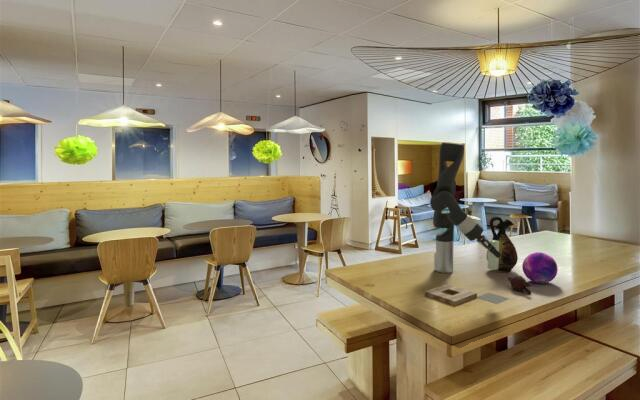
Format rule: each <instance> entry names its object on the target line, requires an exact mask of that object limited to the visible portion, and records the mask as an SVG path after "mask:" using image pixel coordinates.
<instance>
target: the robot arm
mask: <svg viewBox="0 0 640 400" xmlns="http://www.w3.org/2000/svg"><path fill="white" fill-rule="evenodd" d="M438 155H439V157H438V159H439V161H438V163H439V164H438V174H437V175H438V176H437V183H436V188H435V189H434V192H433V193H432V196H431V198H430V202H429V204H430V207H431V209H432V210H433V218H432V219H433V221H432V225H433V227H434V228H435V229H445V230H444V231H443V232H440V233H438V234H436V236H435V253H434V254H433V255H434V262H433V263H434V264H433V265H434V267H433V268H434V269H433V270H435V272H439V273H444V274H448V273H451V274H452V273H454V237H455V236H454V235H455V234H454V233H455V232H454V231H455V227H456V228H457V230H459V231H460V233H462V234H463V235H464V236H465V237H466V239H468V240H469V241H471V242H473V241H475V240H476V242H477V243H478V244H479V245H481V247H483V248H484V249H485V250H489V251H490V252H492V253H493V254H494V255H495V256H496V257H497V258H499V257H500V256H501V254H500V253H499V252H498V251H497V250H496V248H495V247H494V246H493V245H492V243H491V242H490V241H489V239H488V238H487V236H485V235H484V234H483V232H484V228H483V227H482V226H481V225H480V224H479V223H478V222H477V221H476V220H475V219H474V218H472V216H470V215H468V214H467V213H466V212H465V211H464V210H463V208H462V207H461V206H460V204H459V202H457V199H456V198H455V194H456V190H457V189H456V188H457V182H456V178H457V174H458V172H459V169H460V166H461V164H462V162H463V158H464V155H465V145H464V144H463V143H461V142H451V141H443V142H441V144H440V147H439V154H438ZM447 162H451V164H450V165H449V166H448V163H447ZM445 209H448V211H445ZM491 246H492V248H491V249H489V248H490V247H491Z"/></svg>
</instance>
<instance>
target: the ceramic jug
mask: <svg viewBox="0 0 640 400" xmlns="http://www.w3.org/2000/svg"><path fill="white" fill-rule="evenodd" d="M495 221H498V222H499V223H497V224H496V226H495V227H494V222H495ZM513 226H514V223H513V221H511V220H510V219H508V218H507V219H504V220H503V219H502V217H500V216H498V215H497V216H493V217H491V218H489V227H490V230H491V234H492V238H491V239H492V240H496V241H499V253H500V254H501V256H500V257H499V269H497V270H493V269H491V270H492V271H493V272H497V273H502V274H503V273H504V274H510V273H512V270H513V268H515V266H516V265H517V263H518V259H519V257H518V252H517V249H516V247H515V245H514V243H513V242H512V240H511V238H510V237H509V236H508V234H507V232H506V229H508V228H510V227H513ZM495 229H498V231H497V232H496V230H495ZM485 257H486V260H487V261H486V262H488V249H486V255H485Z"/></svg>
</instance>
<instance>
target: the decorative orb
mask: <svg viewBox="0 0 640 400" xmlns="http://www.w3.org/2000/svg"><path fill="white" fill-rule="evenodd" d="M521 265H522V272H523V274H524V275H525V277H526V278H527V279H528V280H529V281H531V282H534V283H536V284H547V283H549V282H551V281H553V280H554V279H555V278H556V276H557V274H558V270H559V269H558V264H557V261H556V260H555V258H553V256H552V255H549V254H547V253H545V252H542V251H541V252H533V253H529V254H528V255H527V256H526V257H524V260H523V262H522V264H521Z"/></svg>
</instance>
